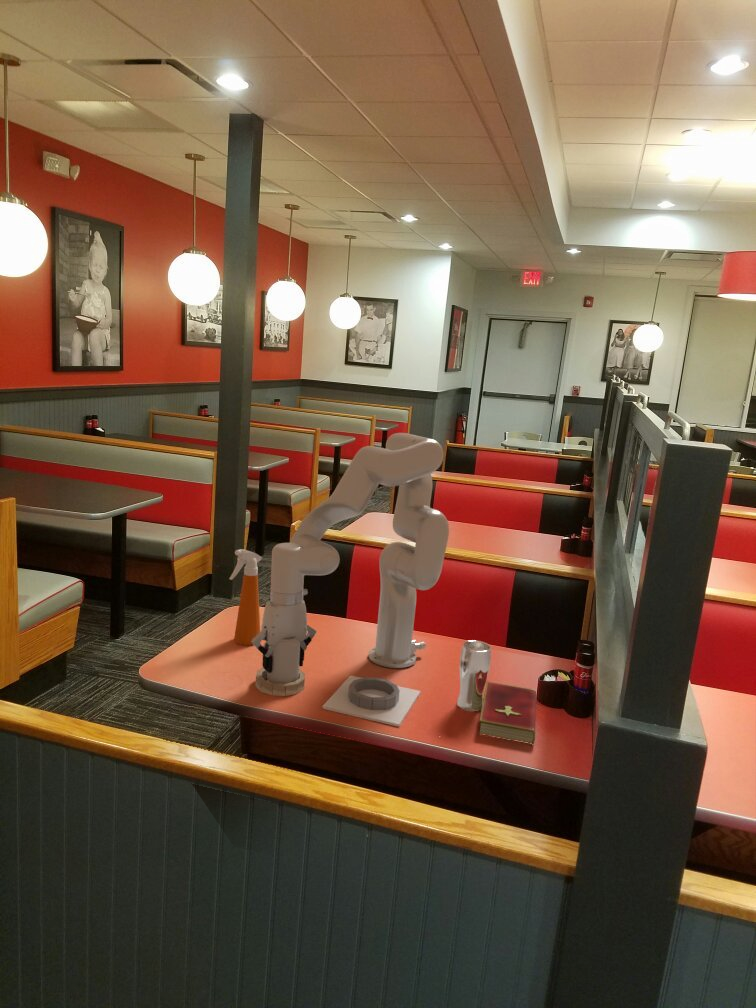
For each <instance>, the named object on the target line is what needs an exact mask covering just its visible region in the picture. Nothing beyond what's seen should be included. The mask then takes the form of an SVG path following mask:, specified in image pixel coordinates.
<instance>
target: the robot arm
mask: <svg viewBox="0 0 756 1008" xmlns="http://www.w3.org/2000/svg"><path fill="white" fill-rule="evenodd" d="M443 461H444V450H443V446H442V445H441V444H440V442H438V441H437V440H436V439H433V438H429V437H424V436H420V435H416V434H412V433H406V432H397V433H396V432H395V433H392V434H391V435H390V436H389V437H388V438H387V440H386V443H385V448H384V447H380V446H373V445H367V446H363V447H361V448H360V449H358V451H357V452H356V453H355V455H354V457H353V458H352V460H351V461H350V463H349V465H348V467H347V468H346V470H345V472H344V473H343V475H342V477H341V478H340V480H339V482H338V484H337V485H336V487H335V489H334V491H332V494H331V495H330V496H329V497H328V498H326V499H325V500H323V501H322V502H321V503H319V504H318V505H316V507H314V508H313V509H312V510H311V511H309V512H308V513H307V515H305V516H304V518H303V519H302V521H301V522H300V523H299V525H298V527H297V528H296V530H295V532H294V533H293V536H292V537H291V539H290V542H281V543H277V544H276V545H274V546H273V548H272V550H271V569H270V571H271V572H270V591H269V592H270V593H269V595H270V596H269V599H270V600H267V601H266V603H265V607H264V610H263V614H262V621H261V628H260V633H259V634H258V635H257V636H255V637H254V638H253V639H252V641H251V642H252V643H253V645H252V646H254V647H255V648H256V649H257V650H258V651H259V652H260V653H261V654H262V664H261V665H262V668H264V669H265V670H266V671H267V672H268V673H271V672H272V659H273V658H272V656H271V653H272V651H273V649H274V646H277V645H278V644H279V643H280V642H281V641H280V640H282V639H293V638H295V637H297V640H299V641H300V661H299V667H303V666H304V661H305V651H306V650H308V649H307V648H308V647H307V646H308V645H310V644H311V642H312V640H313V638H314V637H315V635H316V634H317V630H316V629H314V628H313V627H311V626H310V624H308V615H307V607H306V603H305V600H304V596H306V595H308V593H309V592H308V591H309V590H308V589H307V588H304V583H305V582H304V579H305V576H326V575H330V574H332V573H333V572H335V571H336V570H337V568H338V567H339V565H340V561H341V559H340V554H339V552H338V550H337V549H336V548H335V547H334V546H333V545H331V544H329V543H326V542H324V541H322V538H323V536H324V535H325V534H326V532H327V531H329V529H330V528H331V527H333V526H334V525H335V524H337V523H339V522H342V521H346V520H348V519H353V518H355V517H359V516H360V515H362V514H363V513H364V511H365V509H366V507H367V506H368V504H369V502H370V500H372V499H371V498H372V497H373V495H374V493H375V491H377V488H378V486H379V485H382V486H384V487H389V488H390V487H392V488H393V487H398V491H397V497H396V504H395V507H394V513H393V518H392V529H393V532H394V533H395V534H396V535H397V536H399V537H401V538H402V539H404V540H408V541H409V542H413V543H415V546H413V545H411V544H407V543H405V542H403V541H402V542H400V541H395V542H391V543H389V544H387V545H386V546H384V548H383V549H382V551H381V553H380V555H379V561H378V563H379V567H378V569H379V576H380V577H379V578H380V593H379V603H378V615H377V627H376V635H375V636H376V638H375V647H373V648H371V649H370V651H369V652H368V658H369V660H370V661H371V662H372V663H373V664H376V665H378V666H380V667H384V668H390V669H404V668H407V667H409V668H410V667H411V666H413V665H415V663H416V662H417V655H416V654H415V652H417V651H419V650H425V649H426V648H427V645H426V642H425V641H419V642H417V641H416V639H413V635H414V624H415V615H416V606H417V590H420V591H427V590H430V589H432V588H433V587H434V586H435V585H436V584H437V582H438V581H439V578H440V577H441V574H442V569H443V565H444V559H445V555H446V552H447V551H446V550H447V547H448V541H449V537H450V536H449V535H450V524H449V521H448V519H447V517H446V515H444V513H443V512H441V511H440V510H438V509H436V508H432V507H431V500H432V493H433V492H432V491H433V478H432V474H433V473H434V472H436V471H437V470H438V469H439V468H440V467H441V465H442V463H443ZM262 641H265V642H264V644H263V645H262V643H261V642H262Z"/></svg>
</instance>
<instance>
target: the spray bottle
mask: <svg viewBox="0 0 756 1008" xmlns="http://www.w3.org/2000/svg"><path fill="white" fill-rule="evenodd" d="M234 554H235V555H236V556H237V558H236V559H237V563H236V565H235V567H234V570H233V572H232V573H231V575H230V577H229V580H231V581H233V579H235V577H237V575H238V574H239V572H240V571H241V569H242V568H243V567H244V571H243V578H242V585H241V593H240V598H239V603H238V612H237V619H236V623H235V624H236V625H235V631H234V638H233V639H234V640H233V641H234V643H236V644H238V645H240V644H241V645H240V646H254V645H253V643H252V642H251V641H252V639H253V638H254V637H255V636H257V635H258V634H259V633H260V632H261V622H260V620H261V618H260V617H261V616H260V599H259V598H260V596H259V595H260V594H259V575H258V574H259V573H258V572H259V568H258V563H259V562H260V561H262V559H263V557H262V556H261V555H259V554H258V553H256V552H254V551H250V550H247V549H242V548H239V549H236V550H235V551H234ZM244 565H245V566H244Z"/></svg>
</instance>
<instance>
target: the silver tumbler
mask: <svg viewBox="0 0 756 1008" xmlns="http://www.w3.org/2000/svg"><path fill="white" fill-rule="evenodd" d="M491 659H492V646H491V645H490V644H489V643H487V642H484V641H481V640H475V639H474V640H473V639H472V640H465V641H464V642H463V643H462V647H461V652H460V658H459V683H460V686H459V687H460V690H459V695H458V696H457V697H458V698H457V700H456V706H457V707H458V708H459V707H460V708H459V709H461V710H463V709H464V710H463V711H465V710H467V711H466V712H470V711H477V712H480V711H481V709H482V704H483V699H484V691H485V687H486V683H487V679H488V676H489V672H490V668H491ZM479 710H480V711H479Z"/></svg>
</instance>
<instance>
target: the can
mask: <svg viewBox="0 0 756 1008" xmlns="http://www.w3.org/2000/svg"><path fill="white" fill-rule="evenodd" d="M280 641H281V642H280V643H279V644H278V645H277V646H274V649H273V651H272V653H271V656H272V658H273V659H272V672H271V673H268V672H267V679H266V681H269V682H272V683H280V684H286V683H291V682H295V681H296V680H298V678H299V669H300V666H299V661H300V641H299V640H297V637H295V638H293V639H282V640H280Z"/></svg>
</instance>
